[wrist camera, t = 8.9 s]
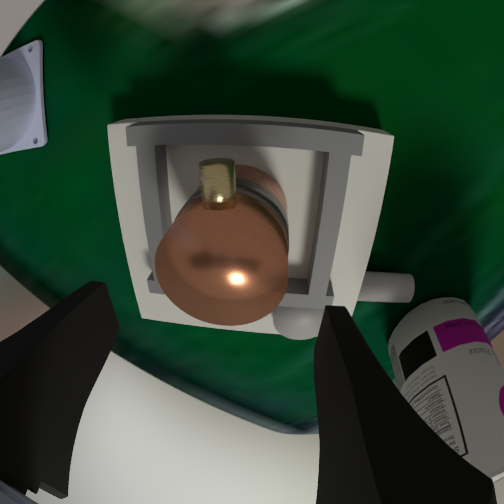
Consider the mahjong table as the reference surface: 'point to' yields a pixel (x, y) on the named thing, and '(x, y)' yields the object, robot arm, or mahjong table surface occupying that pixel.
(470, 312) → the supplement can
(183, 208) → the spout can
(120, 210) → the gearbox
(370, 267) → the mahjong table surface
